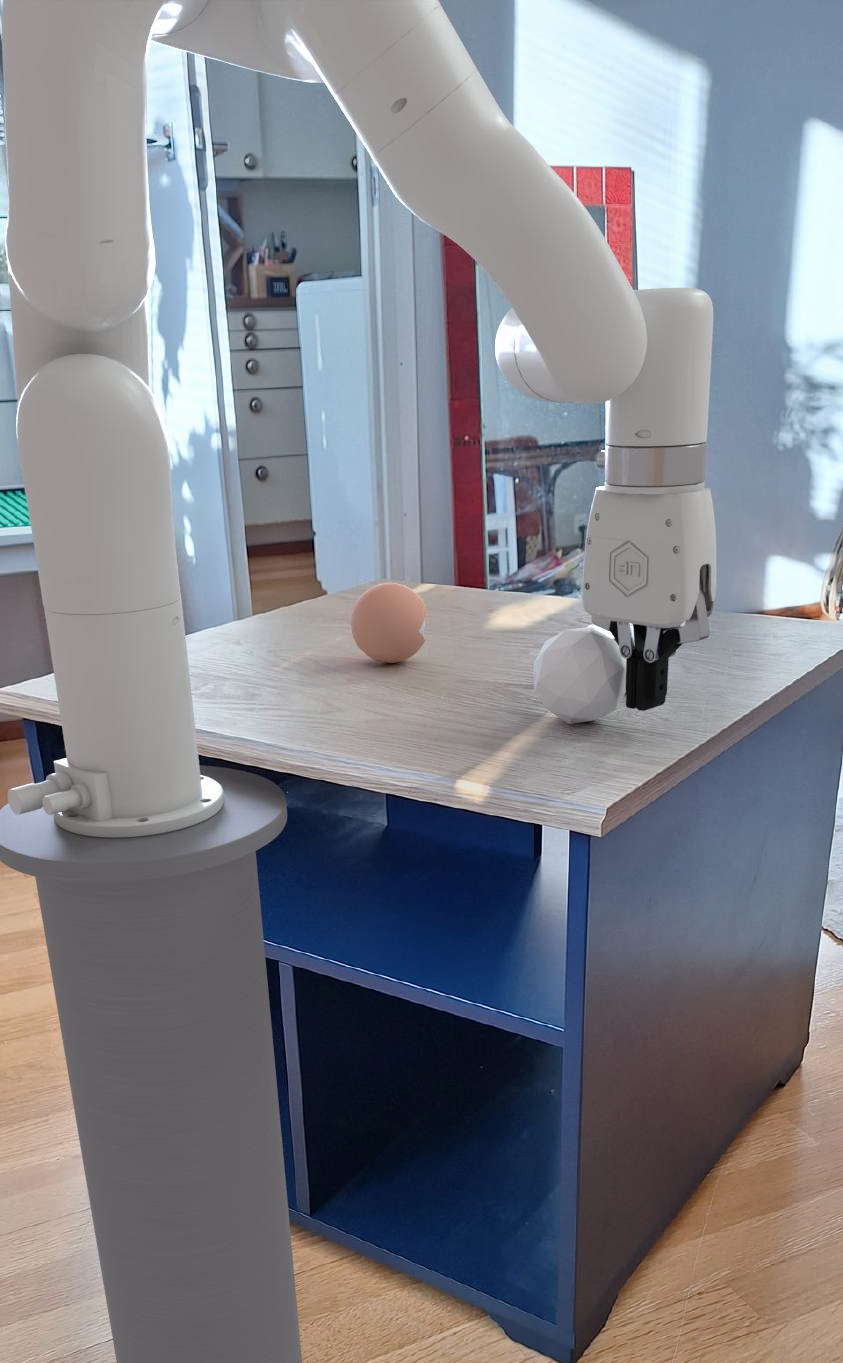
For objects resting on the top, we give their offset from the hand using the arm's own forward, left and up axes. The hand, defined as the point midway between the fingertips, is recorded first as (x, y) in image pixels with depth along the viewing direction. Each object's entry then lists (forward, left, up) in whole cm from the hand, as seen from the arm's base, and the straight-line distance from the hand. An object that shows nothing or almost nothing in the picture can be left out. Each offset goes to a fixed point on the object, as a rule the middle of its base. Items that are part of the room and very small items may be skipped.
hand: (645, 705), depth 105 cm
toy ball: (+4, +35, -2) cm, 35 cm away
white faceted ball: (0, +8, -2) cm, 8 cm away
